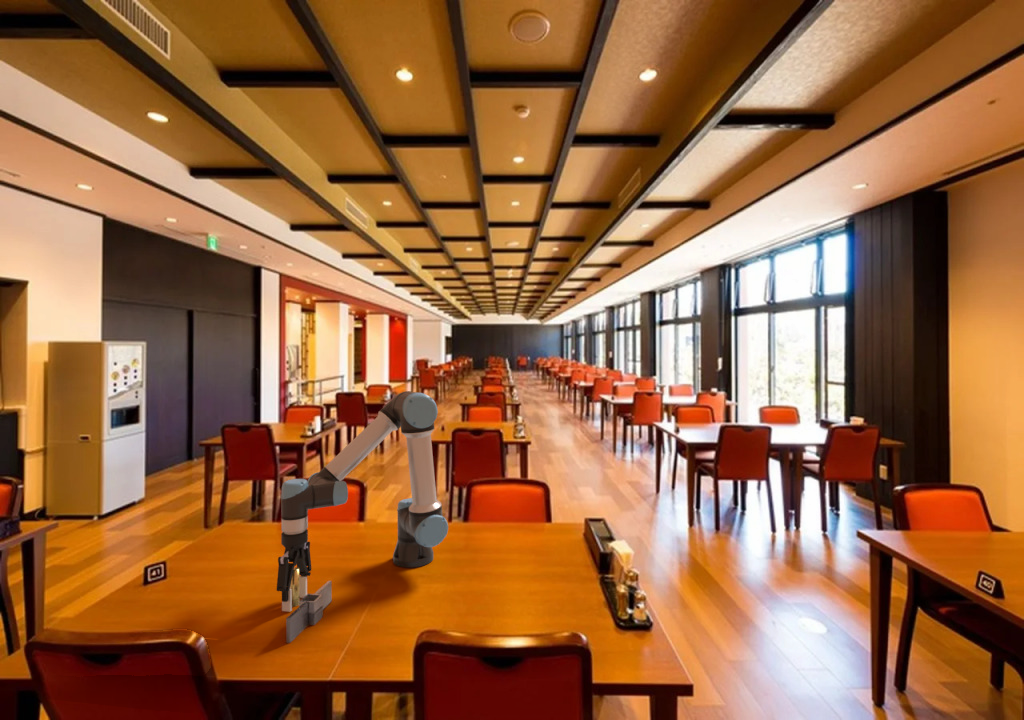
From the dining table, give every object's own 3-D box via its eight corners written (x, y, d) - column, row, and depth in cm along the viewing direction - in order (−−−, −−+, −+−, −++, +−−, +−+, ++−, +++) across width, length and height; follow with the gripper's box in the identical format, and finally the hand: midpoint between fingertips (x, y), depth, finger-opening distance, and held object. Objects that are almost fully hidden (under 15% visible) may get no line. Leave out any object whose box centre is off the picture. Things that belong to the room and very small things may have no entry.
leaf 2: (308, 615, 145) (308, 593, 145) (322, 616, 145) (322, 594, 145) (280, 642, 132) (280, 617, 132) (296, 643, 131) (296, 619, 131)
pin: (293, 602, 153) (293, 567, 153) (301, 602, 153) (301, 567, 153) (288, 606, 151) (288, 570, 151) (296, 606, 150) (296, 571, 150)
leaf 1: (323, 600, 154) (323, 580, 154) (337, 601, 153) (336, 581, 153) (299, 623, 141) (299, 601, 141) (314, 624, 140) (314, 602, 140)
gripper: (302, 519, 163) (302, 587, 163) (262, 542, 142) (262, 620, 142) (323, 520, 162) (323, 589, 162) (286, 543, 141) (286, 622, 141)
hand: (294, 603), depth 152 cm, fingers open, 8 cm apart
